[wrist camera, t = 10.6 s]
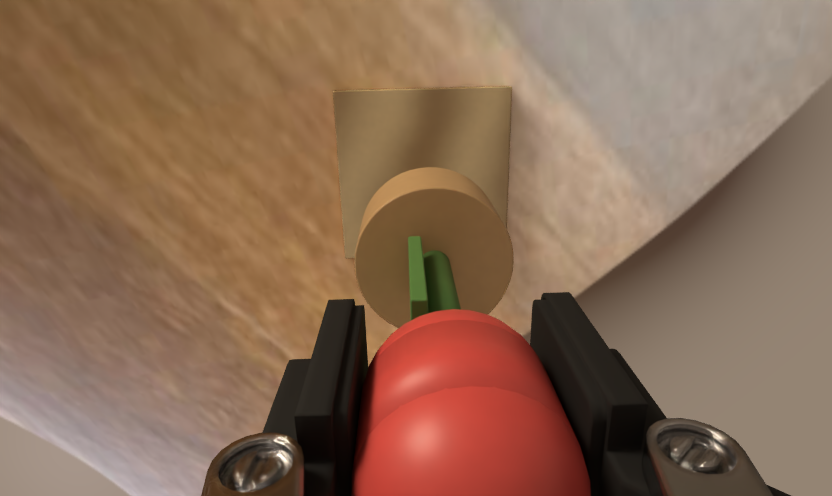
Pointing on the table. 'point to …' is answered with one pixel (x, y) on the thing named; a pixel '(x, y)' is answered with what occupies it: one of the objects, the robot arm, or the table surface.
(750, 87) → the table surface
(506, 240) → the tulip
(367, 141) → the coaster
